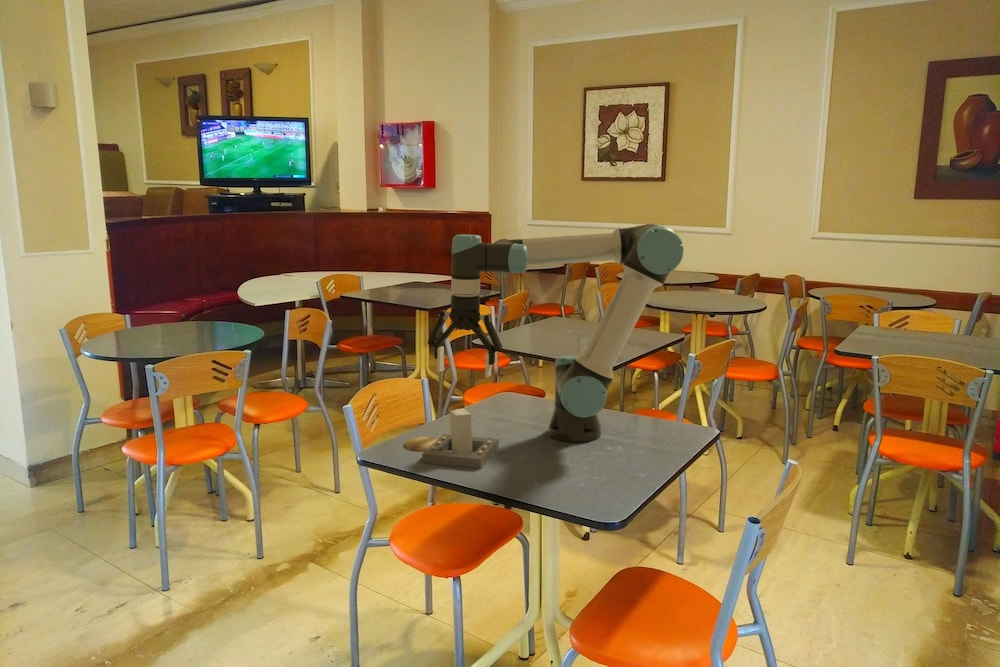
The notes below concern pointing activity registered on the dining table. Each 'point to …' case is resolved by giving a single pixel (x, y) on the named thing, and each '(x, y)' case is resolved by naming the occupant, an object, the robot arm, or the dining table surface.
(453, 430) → the skincare box
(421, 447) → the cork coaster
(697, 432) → the dining table surface
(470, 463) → the studded square frame
